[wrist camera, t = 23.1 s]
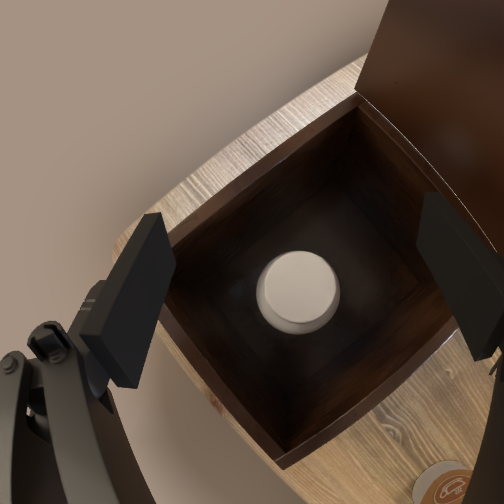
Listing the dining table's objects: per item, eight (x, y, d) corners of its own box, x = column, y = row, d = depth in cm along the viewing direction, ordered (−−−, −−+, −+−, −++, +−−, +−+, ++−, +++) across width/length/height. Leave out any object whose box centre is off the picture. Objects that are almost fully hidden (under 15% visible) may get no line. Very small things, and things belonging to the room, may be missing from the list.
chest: (286, 402, 26) (282, 471, 14) (193, 284, 29) (125, 269, 16) (426, 283, 26) (507, 268, 14) (333, 172, 29) (356, 91, 16)
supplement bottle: (340, 307, 26) (368, 298, 17) (287, 345, 26) (287, 357, 16) (303, 255, 27) (310, 220, 18) (251, 292, 27) (230, 276, 18)
